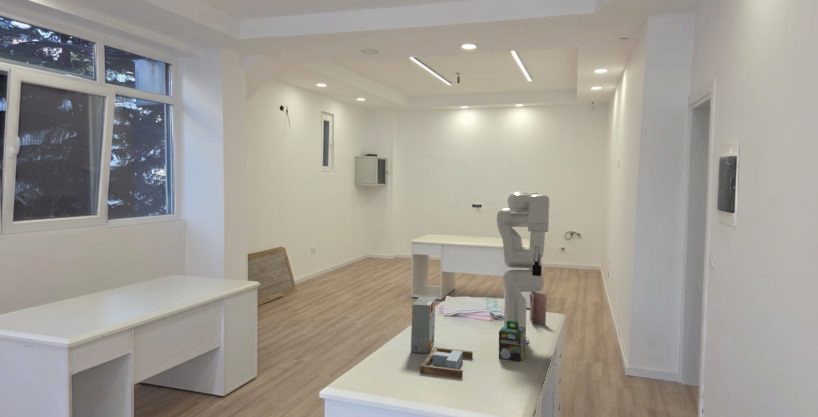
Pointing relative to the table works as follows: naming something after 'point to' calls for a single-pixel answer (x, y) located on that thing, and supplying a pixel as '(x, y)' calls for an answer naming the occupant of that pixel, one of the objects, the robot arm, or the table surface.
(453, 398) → the table surface
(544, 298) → the greeting card
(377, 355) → the table surface
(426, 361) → the walnut bay
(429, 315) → the hard drive box
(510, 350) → the chalk box
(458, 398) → the table surface
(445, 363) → the tee block
